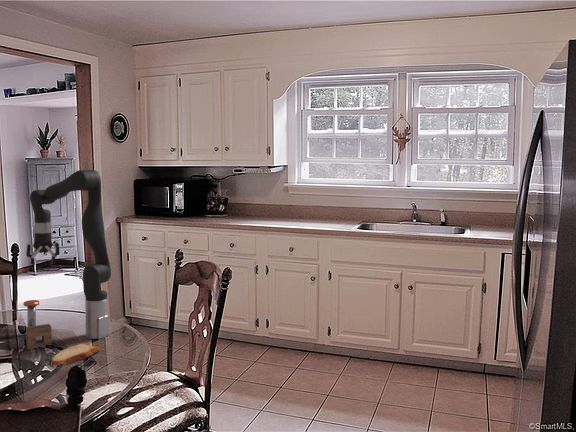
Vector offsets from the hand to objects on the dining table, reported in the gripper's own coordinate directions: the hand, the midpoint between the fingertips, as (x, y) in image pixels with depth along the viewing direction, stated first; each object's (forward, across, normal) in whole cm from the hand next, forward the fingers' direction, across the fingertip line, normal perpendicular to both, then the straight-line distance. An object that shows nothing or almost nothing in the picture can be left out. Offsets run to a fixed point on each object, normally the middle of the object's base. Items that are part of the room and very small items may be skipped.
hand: (43, 264), depth 248 cm
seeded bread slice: (+29, +3, -53) cm, 60 cm away
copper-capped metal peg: (+28, -8, -20) cm, 35 cm away
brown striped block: (+28, -8, -33) cm, 44 cm away
